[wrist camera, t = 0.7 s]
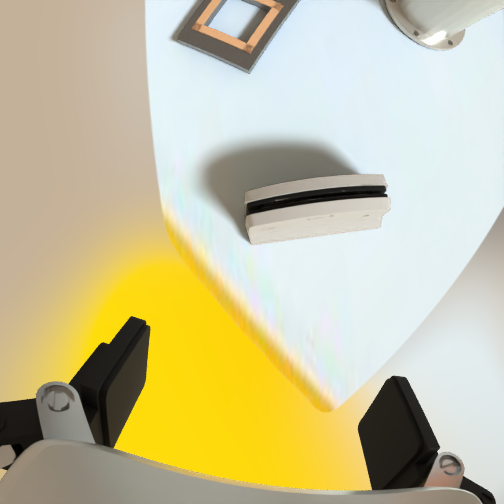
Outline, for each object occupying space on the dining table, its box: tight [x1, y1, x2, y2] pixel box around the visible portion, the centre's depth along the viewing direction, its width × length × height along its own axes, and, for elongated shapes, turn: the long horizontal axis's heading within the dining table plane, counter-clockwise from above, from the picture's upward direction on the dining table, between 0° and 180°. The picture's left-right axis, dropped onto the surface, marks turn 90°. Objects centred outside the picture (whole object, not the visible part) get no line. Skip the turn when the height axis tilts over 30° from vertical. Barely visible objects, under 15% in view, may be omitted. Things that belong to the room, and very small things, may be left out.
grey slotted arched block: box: [244, 174, 391, 245], centre depth 34 cm, size 17×5×10 cm, turn 99°
